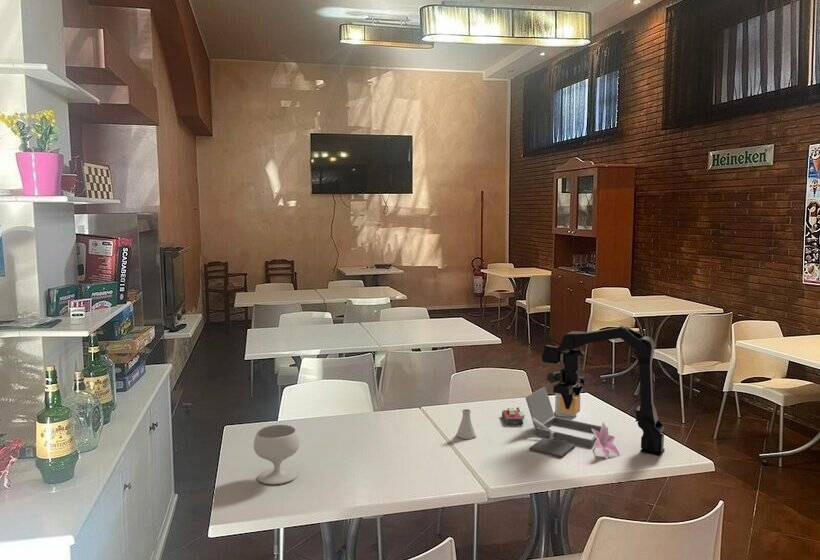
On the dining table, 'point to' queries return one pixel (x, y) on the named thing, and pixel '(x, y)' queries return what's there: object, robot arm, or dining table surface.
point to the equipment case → (555, 420)
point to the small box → (557, 407)
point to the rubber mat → (552, 447)
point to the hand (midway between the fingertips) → (570, 407)
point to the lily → (605, 441)
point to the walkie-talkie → (513, 416)
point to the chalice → (276, 452)
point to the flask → (466, 426)
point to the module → (573, 407)
